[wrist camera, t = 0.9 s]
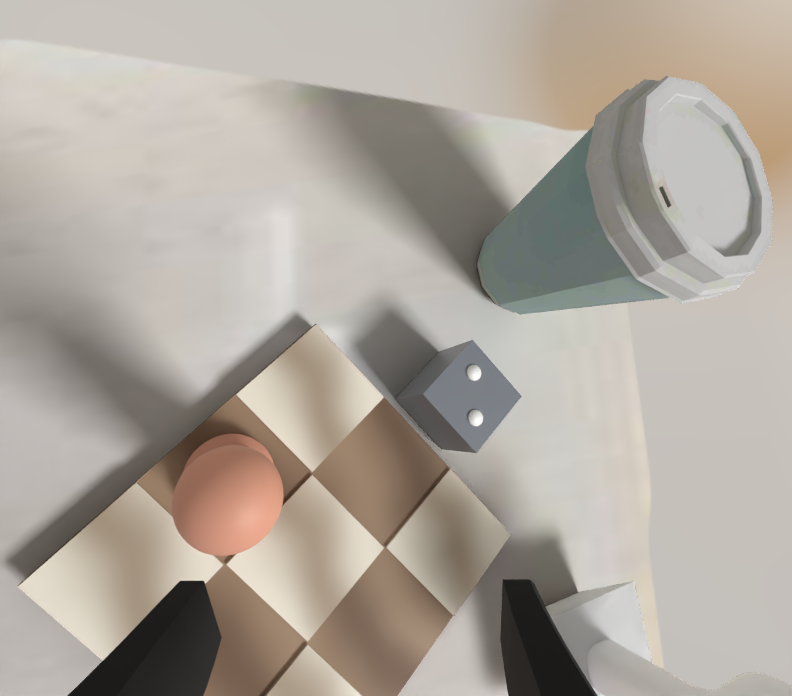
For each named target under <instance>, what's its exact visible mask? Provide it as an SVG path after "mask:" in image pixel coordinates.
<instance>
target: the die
mask: <svg viewBox="0 0 792 696" xmlns="http://www.w3.org/2000/svg"><path fill="white" fill-rule="evenodd" d="M520 398H521V395H520V394H519V393H518V392H517V390H516V389H515V388H514V387H513V386H512V385H511V384H510V382H509V381H508V380H507V379H506V378H505V377H504V376H503V374H502V373H501V372H500V371H499V370H498V369H497V368H496V366H495V365H494V364H493V363H492V362H491V361H490V360H489V358H488V357H487V356H486V355H485V354H484V353H483V352H482V350H481V349H480V348H479V347H478V346H477V345H476V344H475V342H474V341H473V340H471V341H468V342H465V343H463V344H460V345H457V346H454V347H451V348H448V349H445V350H443V351H440V352H438V353H437V354H436V355H435V356H434V358H433V359H432V360H431V361H430V362H429V363H428V364H427V365H426V366H425V367H424V368H423V369H422V370H421V371H420V372H419V373H418V374H417V376H416V377H415V378H414V379H413V380H412V381H411V382H410V383H409V384H408V385H407V386H406V387H405V388H404V389H403V390H402V391H401V392H400V394H399V395H398V396H397V397H396V398H395V400H396V401H397V402H398V403H399V404H400V405H401V406H402V407H403V408H404V409H405V410H406V412H407V413H408V414H409V415H410V416H411V417H412V418H413V419H414V420H415V421H416V422H417V423H418V425H419V426H420V427H421V428H422V429H423V430H424V431H425V432H426V433H427V434H428V435H429V436H430V438H431V439H432V440H433V441H434V442H435V443H436V444H437V445H438V446H439V447H440V448H441V449H446V450H455V451H464V452H472V453H477V452H478V450H479V449H480V448H481V446H482V445H483V444H484V443H485V441H486V440H487V439H488V438H489V436H490V435H491V434H492V433H493V431H494V430H495V429H496V428H497V426H498V425H499V424H500V423H501V421H502V420H503V419H504V418H505V416H506V415H507V414H508V413H509V411H510V410H511V409H512V408H513V406H514V405H515V404H516V403H517V401H518V400H519V399H520Z"/></svg>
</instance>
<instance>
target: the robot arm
mask: <svg viewBox="0 0 792 696" xmlns="http://www.w3.org/2000/svg"><path fill="white" fill-rule="evenodd" d="M221 639H222V637H221V634H220V630H219V627H218V624H217V621H216V618H215V614H214V611H213V608H212V605H211V602H210V598H209V595H208V592H207V589H206V586H205V582H204V581H179V582H178V583H177V584H176V585H175V586H174V588H173V589H172V590H171V591H170V592H169V593H168V594H167V595H166V596H165V597H164V598H163V599H162V600H161V601H160V602H159V603H158V604H157V605H156V606H155V607H154V608H153V609H152V610H151V611H150V612H149V614H148V615H147V616H146V617H145V618H144V619H143V620H142V621H141V622H140V623H139V624H138V625H137V626H136V627H135V628H134V629H133V630H132V631H131V632H130V633H129V634H128V636H127V637H126V638H125V639H124V640H123V641H122V642H121V643H120V644H119V645H118V646H117V647H116V648H115V649H114V650H113V651H112V652H111V653H110V654H109V655H108V656H107V657H106V658H105V659H104V660H103V661H102V662H101V663H100V664H99V665H98V666H97V667H96V668H95V669H94V670H93V671H92V672H91V673H90V674H89V675H88V676H87V677H86V678H85V679H84V680H83V681H82V682H81V683H80V684H79V685H78V686H77V687H76V688H75V689H74V690H73V691H72V692H71V693H70V694H69V695H68V696H203V695H204V693H205V690H206V688H207V685H208V682H209V678H210V675H211V672H212V669H213V666H214V663H215V659H216V656H217V652H218V649H219V646H220V642H221ZM501 647H502V654H503V661H504V669H505V676H506V683H507V690H508V695H509V696H597V694H596V692H595V691H594V689H593V688H592V686H591V685H590V683H589V681H588V680H587V678H586V676H585V675H584V673H583V672H582V670H581V668H580V667H579V665H578V664H577V662H576V660H575V659H574V657H573V655H572V654H571V652H570V650H569V649H568V647H567V645H566V644H565V642H564V640H563V638H562V637H561V635H560V633H559V631H558V629H557V628H556V626H555V624H554V622H553V620H552V618H551V617H550V615H549V613H548V611H547V609H546V607H545V605H544V603H543V601H542V599H541V597H540V595H539V593H538V591H537V589H536V587H535V584H534V583H533V582H532V581H531V580H503V589H502V614H501Z"/></svg>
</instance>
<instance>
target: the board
mask: <svg viewBox="0 0 792 696" xmlns="http://www.w3.org/2000/svg"><path fill="white" fill-rule="evenodd" d="M224 434H241V435H245V436H249V437H251V438H253V439H255V440H256V441H258V442H259V443H261V444H262V445H263V446H264V447H265V448H266V449H267V451H268V452H269V454H270V455H271V458H272V460H273V463H274V465H275V467H276V469H277V470H278V472H279V475H280V477H281V480H282V484H283V495H284V497H283V505H282V509H281V512H280V515H279V517H278V519H277V521H276V523H275V525H274V526H273V528H272V529H271V531H270V532H269V533H268V534H267V536H266V537H265V538H263V539H262V540H261V541H260V542H259V543H258V544H256V545H255V546H253V547H251V548H250V549H248V550H246V551H243V552H241V553H237V554H234V555H228V556H216V555H209V554H205V553H203V552H200V551H198V550H196V549H195V548H193V547H192V546H190V545H189V544H188V543H187V542H186V541H185V540H184V539H183V538H182V537H181V535H180V534H179V532H178V530H177V528H176V526H175V524H174V520H173V515H172V499H173V494H174V490H175V487H176V485H177V482H178V480H179V478H180V477H181V475H182V473H183V470H184V467H185V465H186V463H187V461H188V459H189V458H190V456H191V455H192V454H193V452H194V451H195V450H196V449H197V448H198V447H200V446H201V445H202V444H203V443H205V442H207V441H208V440H210V439H212V438H214V437H217V436H220V435H224ZM510 535H511V534H510V532H509V531H508V530H507V529H506V528H505V527H504V526H503V525H502V524H501V523H500V522H499V521H498V519H497V518H496V517H495V516H494V515H493V514H492V513H491V512H490V511H489V510H488V509H487V508H486V507H485V505H484V504H483V503H482V502H481V501H480V500H479V499H478V498H477V497H476V496H475V495H474V494H473V493H472V491H471V490H470V489H469V488H468V487H467V486H466V485H465V484H464V483H463V482H462V481H461V480H460V479H459V477H458V476H457V475H456V474H455V473H454V472H453V471H452V470H451V469H450V468H449V467H448V466H447V465H446V464H445V463H444V461H443V460H442V459H441V458H440V457H439V456H438V455H437V454H436V453H435V452H434V451H433V450H432V449H431V447H430V446H429V445H428V444H427V443H426V442H425V441H424V440H423V439H422V438H421V437H420V436H419V434H418V433H417V432H416V431H415V430H414V429H413V428H412V427H411V426H410V425H409V424H408V423H407V422H406V420H405V419H404V418H403V417H402V416H401V415H400V414H399V413H398V412H397V411H396V410H395V409H394V408H393V406H392V405H391V404H390V403H389V402H388V401H387V400H386V399H385V398H384V397H383V396H382V394H381V393H380V392H379V391H378V390H377V389H376V388H375V387H374V386H373V385H372V384H371V383H370V381H369V380H368V379H367V378H366V377H365V376H364V375H363V374H362V373H361V372H360V371H359V370H358V369H357V367H356V366H355V365H354V364H353V363H352V362H351V361H350V360H349V359H348V358H347V357H346V356H345V355H344V353H343V352H342V351H341V350H340V349H339V348H338V347H337V346H336V345H335V344H334V343H333V342H332V341H331V339H330V338H329V337H328V336H327V335H326V334H325V333H324V332H323V331H322V330H321V329H320V328H319V327H318V325H317V324H315V325H314V326H312V327H311V328H310V329H309V330H308V331H307V332H306V333H304V334H303V335H302V336H301V337H300V338H299V339H298V340H297V341H295V342H294V343H293V344H292V345H291V346H290V347H289V348H287V349H286V350H285V351H284V352H283V353H282V354H281V355H279V356H278V357H277V358H276V359H275V360H274V361H273V362H272V363H270V364H269V365H268V366H267V367H266V368H265V369H264V370H262V371H261V372H260V373H259V374H258V375H257V376H256V377H254V378H253V379H252V380H251V381H250V382H249V383H248V384H246V385H245V386H244V387H243V388H242V389H241V390H240V391H239V392H237V393H236V394H235V395H234V396H233V397H232V398H231V399H229V400H228V401H227V402H226V403H225V404H224V405H223V406H221V407H220V408H219V409H218V410H217V411H216V412H215V413H213V414H212V415H211V416H210V417H209V418H208V419H207V420H206V421H204V422H203V423H202V424H201V425H200V426H199V427H198V428H196V429H195V430H194V431H193V432H192V433H191V434H190V435H188V436H187V437H186V438H185V439H184V440H183V441H182V442H180V443H179V444H178V445H177V446H176V447H175V448H174V449H173V450H171V451H170V452H169V453H168V454H167V455H166V456H165V457H163V458H162V459H161V460H160V461H159V462H158V463H157V464H155V465H154V466H153V467H152V468H151V469H150V470H149V471H147V472H146V473H145V474H144V475H143V476H142V477H141V478H140V479H138V480H137V481H136V482H135V483H134V484H133V485H132V486H130V487H129V488H128V489H127V490H126V491H125V492H124V493H122V494H121V495H120V496H119V497H118V498H117V499H116V500H115V501H113V502H112V503H111V504H110V505H109V506H108V507H107V508H105V509H104V510H103V511H102V512H101V513H100V514H99V515H97V516H96V517H95V518H94V519H93V520H92V521H91V522H89V523H88V524H87V525H86V526H85V527H84V528H83V529H82V530H80V531H79V532H78V533H77V534H76V535H75V536H74V537H72V538H71V539H70V540H69V541H68V542H67V543H66V544H64V545H63V546H62V547H61V548H60V549H59V550H58V551H56V552H55V553H54V554H53V555H52V556H51V557H50V558H49V559H47V560H46V561H45V562H44V563H43V564H42V565H41V566H39V567H38V568H37V569H36V570H35V571H34V572H33V573H31V574H30V575H29V576H28V577H27V578H26V579H25V580H23V581H22V582H21V583H20V584H19V585H18V588H19V589H21V590H22V591H23V592H24V593H25V594H26V595H27V596H29V597H30V598H31V599H32V600H33V601H34V602H36V603H37V604H38V605H39V606H40V607H41V608H42V609H44V610H45V611H46V612H47V613H48V614H49V615H51V616H52V617H53V618H54V619H55V620H56V621H57V622H59V623H60V624H61V625H62V626H63V627H64V628H66V629H67V630H68V631H69V632H70V633H71V634H72V635H74V636H75V637H76V638H77V639H78V640H79V641H81V642H82V643H83V644H84V645H85V646H86V647H87V648H89V649H90V650H91V651H92V652H93V653H94V654H95V655H97V656H98V657H99V658H100V659H101V660H102V661H103V660H104V659H105V658H106V657H107V656H108V655H109V654H110V653H111V652H112V651H113V650H114V649H115V648H116V647H117V646H118V645H119V644H120V643H121V642H122V641H123V640H124V639H125V638H126V637H127V636H128V634H129V633H130V632H131V631H132V630H133V629H134V628H135V627H136V626H137V625H138V624H139V623H140V622H141V621H142V620H143V619H144V618H145V617H146V616H147V615H148V614H149V612H150V611H151V610H152V609H153V608H154V607H155V606H156V605H157V604H158V603H159V602H160V601H161V600H162V599H163V598H164V597H165V596H166V595H167V594H168V593H169V592H170V591H171V590H172V589H173V588H174V586H175V585H176V584H177V583H178V582H179V581H204V582H205V586H206V589H207V592H208V595H209V598H210V602H211V605H212V608H213V611H214V614H215V618H216V621H217V624H218V627H219V630H220V634H221V637H222V639H221V642H220V646H219V649H218V652H217V656H216V659H215V663H214V666H213V669H212V672H211V675H210V678H209V682H208V685H207V688H206V690H205V693H204V695H203V696H397V695H398V694H399V692H400V691H401V690H402V688H403V687H404V685H405V684H406V682H407V681H408V680H409V678H410V677H411V675H412V674H413V672H414V671H415V670H416V668H417V667H418V665H419V664H420V662H421V661H422V659H423V658H424V657H425V655H426V654H427V652H428V651H429V649H430V648H431V647H432V645H433V644H434V642H435V641H436V639H437V638H438V637H439V635H440V634H441V632H442V631H443V629H444V628H445V626H446V625H447V624H448V622H449V621H450V619H451V618H452V616H455V614H456V613H457V612H458V610H459V609H460V607H461V606H462V604H463V603H464V601H465V600H466V599H467V597H468V596H469V594H470V593H471V591H472V590H473V589H474V587H475V586H476V584H477V583H478V581H479V580H480V578H481V577H482V576H483V574H484V573H485V571H486V570H487V568H488V567H489V566H490V564H491V563H492V561H493V560H494V558H495V557H496V555H497V554H498V553H499V551H500V550H501V548H502V547H503V545H504V544H505V543H506V541H507V540H508V538H509V537H510Z"/></svg>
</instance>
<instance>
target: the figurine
mask: <svg viewBox="0 0 792 696" xmlns="http://www.w3.org/2000/svg"><path fill="white" fill-rule="evenodd" d="M546 609H547V611H548V613H549V615H550V617H551V618H552V620H553V622H554V624H555V626H556V628H557V629H558V631H559V633H560V635H561V637H562V638H563V640H564V642H565V644H566V645H567V647H568V649H569V650H570V652H571V654H572V655H573V657H574V659H575V660H576V662H577V664H578V665H579V667H580V668H581V670H582V672H583V673H584V675H585V676H586V678H587V680H588V681H589V683H590V685H591V686H592V688H593V689H594V691H595V692H596V694H597V696H792V685H791V684H788V683H786V682H784V681H781V680H779V679H777V678H774V677H771V676H768V675H765V674H761V673H753V672H748V673H743V674H740V675H738V676H736V677H735V678H733V679H732V680H730V681H729V682H727V683H725V684H724V685H722V686H721V687H719V688H717V689H716V690H706V689H701V688H698V687H695V686H692V685H690V684H689V683H687V682H685V681H683V680H681V679H680V678H678V677H676V676H674V675H673V674H671V673H669V672H667V671H665V670H664V669H662V668H660V667H658V666H657V665H655V664H653V663H652V658H651V654H650V649H649V645H648V640H647V636H646V632H645V627H644V623H643V618H642V614H641V609H640V605H639V601H638V596H637V592H636V587H635V583H634V581H632V582H627V583H622V584H617V585H612V586H607V587H602V588H597V589H592V590H587V591H582V592H578V593H576V594H573V595H571V596H569V597H566V598H564V599H562V600H560V601H557V602H555V603H553V604H550V605H548V606H546Z"/></svg>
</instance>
